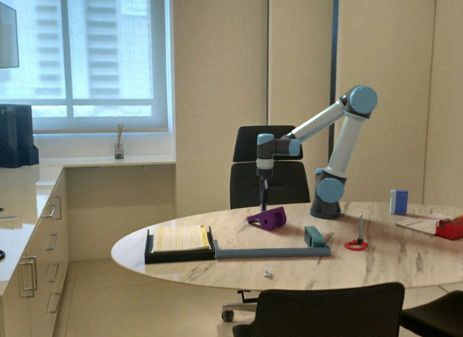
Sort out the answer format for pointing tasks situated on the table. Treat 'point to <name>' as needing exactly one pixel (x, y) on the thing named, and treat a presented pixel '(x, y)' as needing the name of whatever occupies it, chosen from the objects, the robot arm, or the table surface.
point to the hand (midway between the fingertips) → (263, 216)
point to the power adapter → (267, 272)
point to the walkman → (398, 201)
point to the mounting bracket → (270, 218)
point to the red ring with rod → (359, 240)
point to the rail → (310, 237)
